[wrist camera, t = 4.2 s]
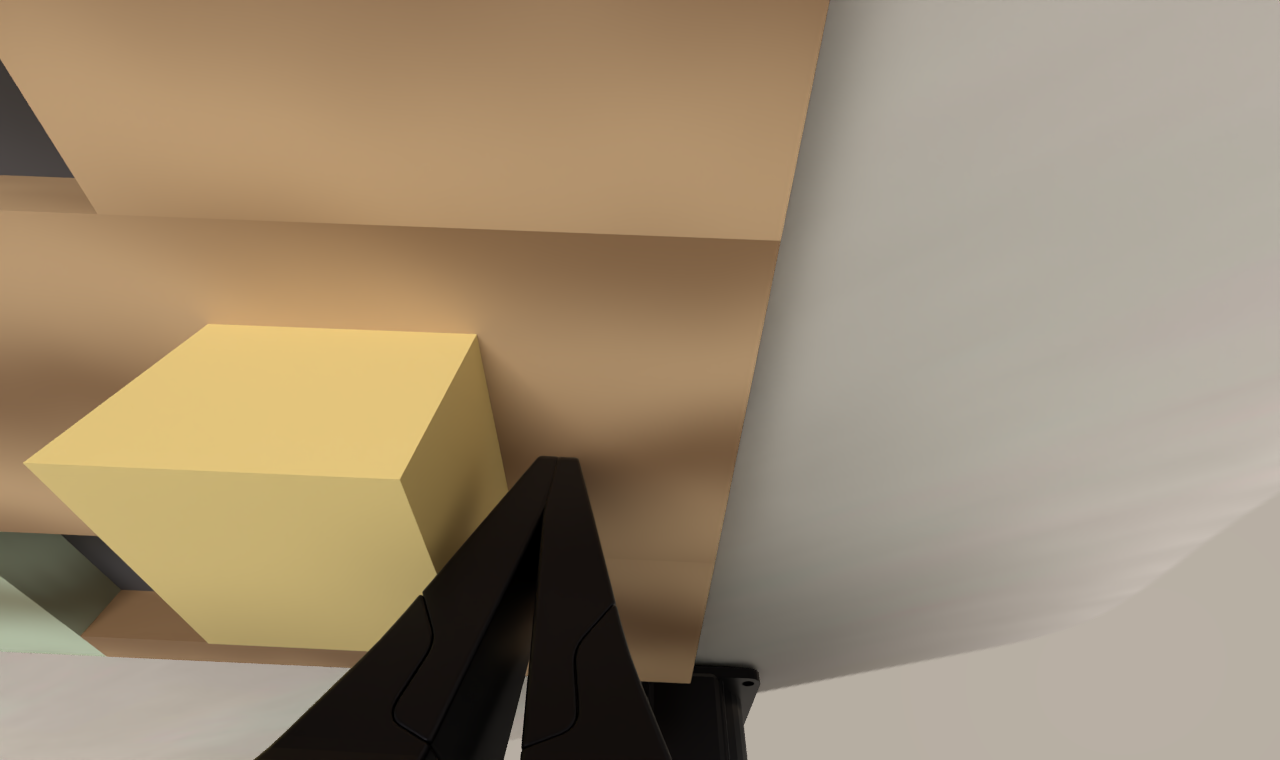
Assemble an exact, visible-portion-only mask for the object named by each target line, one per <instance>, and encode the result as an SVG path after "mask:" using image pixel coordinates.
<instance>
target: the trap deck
mask: <svg viewBox="0 0 1280 760" xmlns="http://www.w3.org/2000/svg"><path fill="white" fill-rule="evenodd" d="M829 1H830V0H0V652H21V653H42V654H64V655H86V656H107V657H129V658H150V659H172V660H193V661H215V662H237V663H258V664H280V665H301V666H323V667H344V668H352V667H353V666H354V665H355V664H356V663H357V662H358V661H359V660H360V659H361V658H362V657H363V656H364V655H365V654H366V653H367V652H368V651H350V650H330V649H309V648H288V647H267V646H247V645H226V644H208V643H207V642H206V641H205V640H204V639H203V638H202V637H201V636H200V635H199V634H198V633H197V632H196V631H195V630H194V629H193V628H192V627H191V626H190V625H189V624H188V623H187V622H186V621H185V620H184V619H183V618H182V617H181V616H180V615H179V614H178V613H177V612H176V611H175V610H173V609H172V608H171V607H170V606H169V605H168V604H167V603H166V602H165V601H164V600H163V599H162V598H161V597H160V596H159V595H158V594H157V593H156V592H155V591H154V590H153V589H152V588H151V587H150V586H149V585H148V584H147V583H146V582H145V581H144V580H143V579H142V578H141V577H140V576H139V575H137V574H136V573H135V572H134V571H133V570H132V569H131V568H130V567H129V566H128V565H127V564H126V563H125V562H124V561H123V560H122V559H121V558H120V557H119V556H118V555H117V554H116V553H115V552H114V551H113V550H112V549H111V548H110V547H109V546H108V545H107V544H106V543H105V542H104V541H103V540H101V539H100V538H99V537H98V536H97V535H96V534H95V533H94V532H93V531H92V530H91V529H90V528H89V527H88V526H87V525H86V524H85V523H84V522H83V521H82V520H81V519H80V518H79V517H78V516H77V515H76V514H75V513H74V512H73V511H72V510H71V509H70V508H69V507H68V506H67V505H65V504H64V503H63V502H62V501H61V500H60V499H59V498H58V497H57V496H56V495H55V494H54V493H53V492H52V491H51V490H50V489H49V488H48V487H47V486H46V485H45V484H44V483H43V482H42V481H41V480H40V479H39V478H38V477H37V476H36V475H35V474H34V473H33V472H32V471H31V470H29V469H28V468H27V467H26V466H25V465H24V464H23V462H25V461H26V460H27V459H29V458H30V457H31V456H33V455H34V454H35V453H37V452H38V451H39V450H41V449H42V448H43V447H45V446H46V445H47V444H49V443H50V442H51V441H53V440H54V439H55V438H57V437H58V436H59V435H61V434H62V433H63V432H65V431H66V430H67V429H69V428H70V427H71V426H73V425H74V424H75V423H77V422H78V421H79V420H81V419H82V418H83V417H85V416H86V415H87V414H89V413H90V412H91V411H93V410H94V409H95V408H97V407H98V406H99V405H101V404H102V403H103V402H105V401H106V400H107V399H109V398H110V397H111V396H113V395H114V394H115V393H117V392H118V391H119V390H121V389H122V388H123V387H125V386H126V385H127V384H129V383H130V382H131V381H133V380H134V379H135V378H137V377H138V376H139V375H141V374H142V373H143V372H145V371H146V370H147V369H149V368H150V367H151V366H153V365H154V364H155V363H157V362H158V361H159V360H161V359H162V358H163V357H165V356H166V355H167V354H169V353H170V352H171V351H173V350H174V349H175V348H177V347H178V346H179V345H181V344H182V343H183V342H185V341H186V340H187V339H189V338H190V337H191V336H193V335H194V334H195V333H197V332H198V331H199V330H201V329H202V328H203V327H205V326H206V325H207V324H222V325H248V326H274V327H300V328H327V329H353V330H379V331H405V332H431V333H457V334H477V338H478V343H479V348H480V353H481V358H482V363H483V368H484V373H485V378H486V383H487V388H488V393H489V398H490V403H491V408H492V413H493V418H494V423H495V428H496V433H497V438H498V443H499V448H500V453H501V458H502V463H503V467H504V472H505V477H506V482H507V487H508V491H509V490H510V489H511V488H512V487H513V485H514V484H515V483H516V482H517V481H518V480H519V478H520V477H521V476H522V475H523V474H524V473H525V471H526V470H527V469H528V468H529V467H530V466H531V464H532V463H533V462H534V461H535V460H536V459H537V458H538V457H539V456H557V457H576V458H578V459H579V461H580V464H581V468H582V472H583V476H584V480H585V484H586V488H587V491H588V495H589V499H590V503H591V507H592V511H593V515H594V519H595V523H596V527H597V531H598V534H599V538H600V542H601V546H602V550H603V554H604V558H605V562H606V566H607V570H608V573H609V577H610V581H611V585H612V589H613V593H614V597H615V601H616V606H617V608H618V612H619V616H620V620H621V624H622V627H623V631H624V634H625V638H626V641H627V644H628V648H629V651H630V654H631V657H632V660H633V663H634V665H635V668H636V671H637V673H638V676H639V679H640V681H646V682H668V683H691V678H692V673H693V668H694V663H695V658H696V653H697V648H698V643H699V638H700V634H701V629H702V624H703V619H704V614H705V609H706V604H707V599H708V594H709V589H710V585H711V580H712V575H713V570H714V565H715V560H716V555H717V550H718V545H719V540H720V536H721V531H722V526H723V521H724V516H725V511H726V506H727V501H728V496H729V491H730V487H731V482H732V477H733V472H734V467H735V462H736V457H737V452H738V447H739V442H740V438H741V433H742V428H743V423H744V418H745V413H746V408H747V403H748V398H749V393H750V389H751V384H752V379H753V374H754V369H755V364H756V359H757V354H758V349H759V344H760V340H761V335H762V330H763V325H764V320H765V315H766V310H767V305H768V300H769V295H770V291H771V286H772V281H773V276H774V271H775V266H776V261H777V256H778V251H779V246H780V242H781V237H782V232H783V227H784V222H785V217H786V212H787V207H788V202H789V197H790V193H791V188H792V183H793V178H794V173H795V168H796V163H797V158H798V153H799V148H800V144H801V139H802V134H803V129H804V124H805V119H806V114H807V109H808V104H809V99H810V95H811V90H812V85H813V80H814V75H815V70H816V65H817V60H818V55H819V50H820V46H821V41H822V36H823V31H824V26H825V21H826V16H827V11H828V6H829ZM528 669H529V663H528V667H527V670H526V674H525V676H528Z"/></svg>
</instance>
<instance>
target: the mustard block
mask: <svg viewBox="0 0 1280 760" xmlns="http://www.w3.org/2000/svg"><path fill="white" fill-rule="evenodd" d="M23 464H24V465H25V466H26V467H27V468H28V469H29V470H31V471H32V472H33V473H34V474H35V475H36V476H37V477H38V478H39V479H40V480H41V481H42V482H43V483H44V484H45V485H46V486H47V487H48V488H49V489H50V490H51V491H52V492H53V493H54V494H55V495H56V496H57V497H58V498H59V499H60V500H61V501H62V502H63V503H64V504H65V505H67V506H68V507H69V508H70V509H71V510H72V511H73V512H74V513H75V514H76V515H77V516H78V517H79V518H80V519H81V520H82V521H83V522H84V523H85V524H86V525H87V526H88V527H89V528H90V529H91V530H92V531H93V532H94V533H95V534H96V535H97V536H98V537H99V538H100V539H101V540H103V541H104V542H105V543H106V544H107V545H108V546H109V547H110V548H111V549H112V550H113V551H114V552H115V553H116V554H117V555H118V556H119V557H120V558H121V559H122V560H123V561H124V562H125V563H126V564H127V565H128V566H129V567H130V568H131V569H132V570H133V571H134V572H135V573H136V574H137V575H139V576H140V577H141V578H142V579H143V580H144V581H145V582H146V583H147V584H148V585H149V586H150V587H151V588H152V589H153V590H154V591H155V592H156V593H157V594H158V595H159V596H160V597H161V598H162V599H163V600H164V601H165V602H166V603H167V604H168V605H169V606H170V607H171V608H172V609H173V610H175V611H176V612H177V613H178V614H179V615H180V616H181V617H182V618H183V619H184V620H185V621H186V622H187V623H188V624H189V625H190V626H191V627H192V628H193V629H194V630H195V631H196V632H197V633H198V634H199V635H200V636H201V637H202V638H203V639H204V640H205V641H206V642H207V643H208V644H226V645H247V646H267V647H288V648H309V649H330V650H350V651H369V650H370V649H371V648H372V647H373V646H374V645H375V644H376V643H377V642H378V641H379V640H380V639H381V638H382V636H383V635H384V634H385V633H386V632H387V631H388V630H389V629H390V628H391V626H392V625H393V624H394V623H395V622H396V621H397V620H398V619H399V618H400V616H401V615H402V614H403V613H404V612H405V611H406V610H407V609H408V607H409V606H410V605H411V604H412V603H413V601H414V600H415V599H416V598H417V597H418V596H419V595H423V594H422V592H423V590H424V589H425V588H426V587H427V585H428V584H429V583H430V582H431V581H432V580H433V579H434V577H435V576H436V575H437V574H438V573H439V572H440V570H441V569H442V568H443V567H444V566H445V565H446V563H447V562H448V561H449V560H450V559H451V558H452V556H453V555H454V554H455V553H456V552H457V551H458V549H459V548H460V547H461V546H462V545H463V544H464V542H465V541H466V540H467V539H468V538H469V537H470V535H471V534H472V533H473V532H474V531H475V530H476V528H477V527H478V526H479V525H480V524H481V523H482V521H483V520H484V519H485V518H486V517H487V516H488V515H489V513H490V512H491V511H492V510H493V509H494V508H495V506H496V505H497V504H498V503H499V502H500V501H501V499H502V498H503V497H504V496H505V495H506V494H507V492H508V487H507V482H506V477H505V472H504V467H503V463H502V458H501V453H500V448H499V443H498V438H497V433H496V428H495V423H494V418H493V413H492V408H491V403H490V398H489V393H488V388H487V383H486V378H485V373H484V368H483V363H482V358H481V353H480V348H479V343H478V338H477V334H457V333H431V332H405V331H379V330H353V329H327V328H300V327H274V326H248V325H222V324H207V325H206V326H205V327H203V328H202V329H201V330H199V331H198V332H197V333H195V334H194V335H193V336H191V337H190V338H189V339H187V340H186V341H185V342H183V343H182V344H181V345H179V346H178V347H177V348H175V349H174V350H173V351H171V352H170V353H169V354H167V355H166V356H165V357H163V358H162V359H161V360H159V361H158V362H157V363H155V364H154V365H153V366H151V367H150V368H149V369H147V370H146V371H145V372H143V373H142V374H141V375H139V376H138V377H137V378H135V379H134V380H133V381H131V382H130V383H129V384H127V385H126V386H125V387H123V388H122V389H121V390H119V391H118V392H117V393H115V394H114V395H113V396H111V397H110V398H109V399H107V400H106V401H105V402H103V403H102V404H101V405H99V406H98V407H97V408H95V409H94V410H93V411H91V412H90V413H89V414H87V415H86V416H85V417H83V418H82V419H81V420H79V421H78V422H77V423H75V424H74V425H73V426H71V427H70V428H69V429H67V430H66V431H65V432H63V433H62V434H61V435H59V436H58V437H57V438H55V439H54V440H53V441H51V442H50V443H49V444H47V445H46V446H45V447H43V448H42V449H41V450H39V451H38V452H37V453H35V454H34V455H33V456H31V457H30V458H29V459H27V460H26V461H25V462H23Z"/></svg>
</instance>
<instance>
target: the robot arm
mask: <svg viewBox="0 0 1280 760" xmlns="http://www.w3.org/2000/svg"><path fill="white" fill-rule="evenodd" d="M422 594H423V595H419V596H418V597H417V598H416V599H415V600H414V601H413V603H412V604H411V605H410V606H409V607H408V609H407V610H406V611H405V612H404V613H403V614H402V615H401V616H400V618H399V619H398V620H397V621H396V622H395V623H394V624H393V625H392V626H391V628H390V629H389V630H388V631H387V632H386V633H385V634H384V635H383V636H382V638H381V639H380V640H379V641H378V642H377V643H376V644H375V645H374V646H373V647H372V648H371V649H370V650H369V651H368V652H367V653H366V654H365V655H364V656H363V657H362V658H361V659H360V660H359V661H358V662H357V663H356V664H355V665H354V666H353V667H352V668H351V669H350V670H349V671H348V672H347V673H346V674H345V675H344V676H343V677H342V678H340V679H339V680H338V681H337V682H336V683H335V684H334V685H333V686H332V687H331V688H330V689H329V690H328V691H327V692H326V693H325V694H324V695H323V696H322V697H321V698H320V699H319V700H318V701H317V702H316V703H315V704H314V705H313V706H312V707H311V708H309V709H308V710H307V711H306V712H305V713H304V714H303V715H302V716H301V717H300V718H299V719H298V720H297V721H296V722H295V723H294V724H293V725H292V726H291V727H290V728H289V729H288V730H287V731H286V732H285V733H284V734H283V735H282V736H281V737H279V738H278V739H277V740H276V741H275V742H274V743H273V744H272V745H271V746H270V747H269V748H267V749H266V750H265V751H264V752H263V753H261V754H260V755H259V756H258V757H257V758H255V759H254V760H504V756H505V752H506V748H507V744H508V740H509V737H510V733H511V729H512V725H513V721H514V717H515V713H516V709H517V705H518V702H519V698H520V694H521V690H522V686H523V682H524V678H525V674H526V670H527V667H528V663H529V669H528V680H527V691H526V702H525V713H524V724H523V735H522V752H521V758H520V760H747V752H746V743H745V733H744V723H745V721H746V718H747V716H748V713H749V711H750V708H751V706H752V703H753V701H754V698H755V695H756V693H757V691H758V688H759V686H760V679H759V672H758V671H757V670H755V669H751V668H733V667H712V666H694V668H693V673H692V678H691V683H668V682H646V681H640V679H639V676H638V673H637V671H636V668H635V665H634V663H633V660H632V657H631V654H630V651H629V648H628V644H627V641H626V638H625V634H624V631H623V627H622V624H621V620H620V616H619V612H618V608H617V606H616V601H615V597H614V593H613V589H612V585H611V581H610V577H609V573H608V570H607V566H606V562H605V558H604V554H603V550H602V546H601V542H600V538H599V534H598V531H597V527H596V523H595V519H594V515H593V511H592V507H591V503H590V499H589V495H588V491H587V488H586V484H585V480H584V476H583V472H582V468H581V464H580V461H579V459H578V458H576V457H557V456H539V457H538V458H537V459H536V460H535V461H534V462H533V463H532V464H531V466H530V467H529V468H528V469H527V470H526V471H525V473H524V474H523V475H522V476H521V477H520V478H519V480H518V481H517V482H516V483H515V484H514V485H513V487H512V488H511V489H510V490H509V491H508V492H507V494H506V495H505V496H504V497H503V498H502V499H501V501H500V502H499V503H498V504H497V505H496V506H495V508H494V509H493V510H492V511H491V512H490V513H489V515H488V516H487V517H486V518H485V519H484V520H483V521H482V523H481V524H480V525H479V526H478V527H477V528H476V530H475V531H474V532H473V533H472V534H471V535H470V537H469V538H468V539H467V540H466V541H465V542H464V544H463V545H462V546H461V547H460V548H459V549H458V551H457V552H456V553H455V554H454V555H453V556H452V558H451V559H450V560H449V561H448V562H447V563H446V565H445V566H444V567H443V568H442V569H441V570H440V572H439V573H438V574H437V575H436V576H435V577H434V579H433V580H432V581H431V582H430V583H429V584H428V585H427V587H426V588H425V589H424V590H423V592H422Z"/></svg>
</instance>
